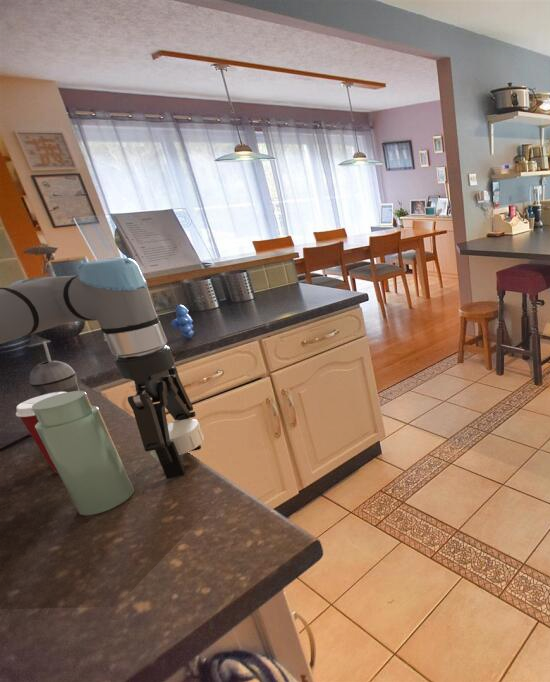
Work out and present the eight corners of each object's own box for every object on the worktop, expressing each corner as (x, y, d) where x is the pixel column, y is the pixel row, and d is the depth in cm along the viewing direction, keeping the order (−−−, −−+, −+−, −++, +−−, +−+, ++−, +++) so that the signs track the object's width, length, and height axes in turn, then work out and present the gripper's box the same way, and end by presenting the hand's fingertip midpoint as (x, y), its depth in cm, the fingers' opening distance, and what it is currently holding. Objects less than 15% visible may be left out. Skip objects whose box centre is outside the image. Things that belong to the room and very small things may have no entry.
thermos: (65, 516, 70) (11, 412, 63) (105, 486, 77) (60, 390, 70) (108, 514, 70) (58, 410, 63) (145, 485, 76) (103, 387, 70)
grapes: (177, 335, 162) (166, 304, 158) (199, 331, 165) (188, 301, 161) (174, 344, 153) (162, 311, 148) (197, 339, 156) (186, 307, 152)
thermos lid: (206, 430, 86) (201, 414, 85) (201, 449, 79) (195, 432, 78) (156, 443, 83) (150, 427, 81) (147, 464, 76) (140, 447, 75)
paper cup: (105, 459, 85) (76, 395, 80) (51, 481, 79) (16, 414, 74) (93, 448, 89) (65, 387, 84) (41, 468, 83) (8, 403, 79)
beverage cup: (45, 430, 98) (4, 348, 91) (84, 414, 104) (48, 336, 97) (65, 434, 95) (24, 350, 89) (103, 418, 102) (68, 338, 95)
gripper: (142, 336, 83) (182, 439, 90) (79, 377, 64) (136, 502, 72) (187, 329, 85) (222, 430, 93) (139, 367, 66) (188, 490, 74)
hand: (184, 462), depth 82 cm, fingers closed on thermos lid, 8 cm apart
